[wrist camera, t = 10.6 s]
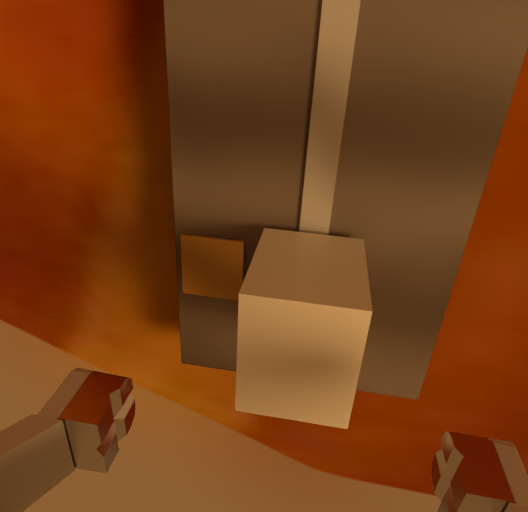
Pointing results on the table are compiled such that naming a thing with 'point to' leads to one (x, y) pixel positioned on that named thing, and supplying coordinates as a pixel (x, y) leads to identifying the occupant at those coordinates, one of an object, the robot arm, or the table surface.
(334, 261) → the fader
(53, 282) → the table surface
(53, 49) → the table surface
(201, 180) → the track board
